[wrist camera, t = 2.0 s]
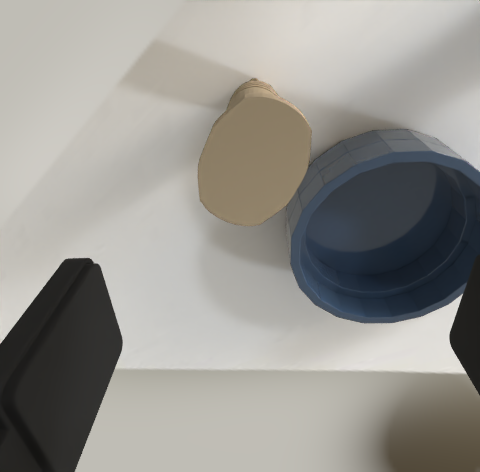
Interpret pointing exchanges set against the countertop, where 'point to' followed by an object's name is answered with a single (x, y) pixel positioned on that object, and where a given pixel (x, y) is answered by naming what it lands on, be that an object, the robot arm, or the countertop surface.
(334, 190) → the bowl
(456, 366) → the countertop surface
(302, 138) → the handle
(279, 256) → the countertop surface
